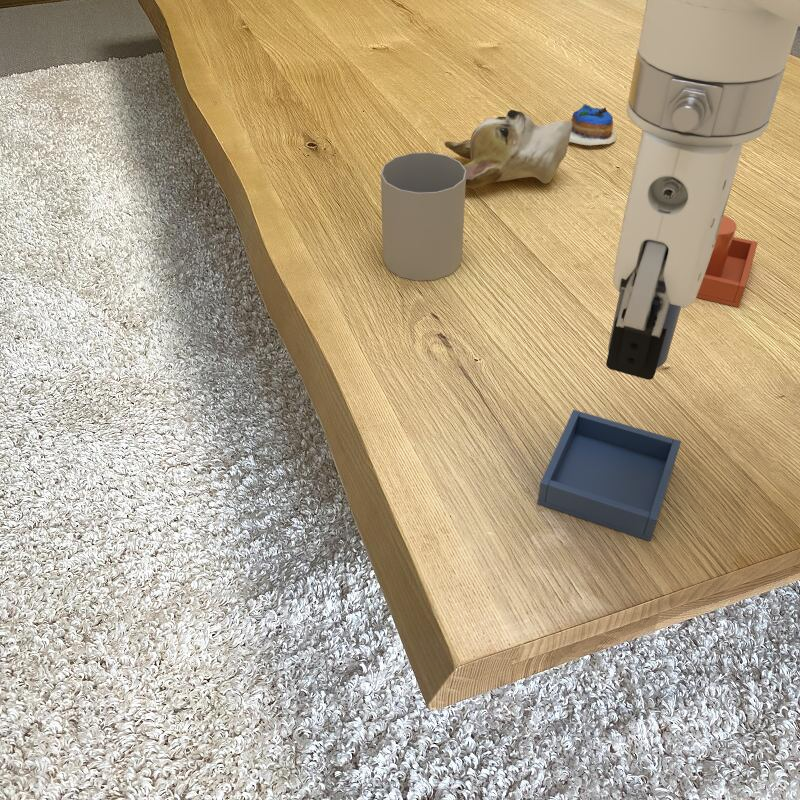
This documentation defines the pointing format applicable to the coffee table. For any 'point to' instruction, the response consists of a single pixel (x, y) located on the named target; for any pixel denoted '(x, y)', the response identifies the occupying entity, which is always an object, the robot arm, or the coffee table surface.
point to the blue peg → (668, 324)
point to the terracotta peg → (721, 247)
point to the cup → (423, 215)
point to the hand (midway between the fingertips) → (638, 348)
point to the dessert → (592, 126)
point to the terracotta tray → (730, 275)
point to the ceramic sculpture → (513, 149)
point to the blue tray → (609, 474)
